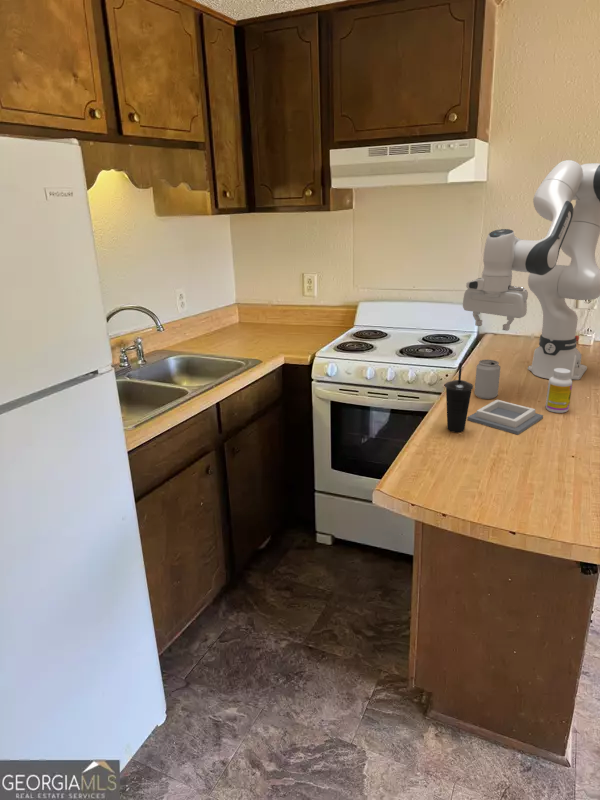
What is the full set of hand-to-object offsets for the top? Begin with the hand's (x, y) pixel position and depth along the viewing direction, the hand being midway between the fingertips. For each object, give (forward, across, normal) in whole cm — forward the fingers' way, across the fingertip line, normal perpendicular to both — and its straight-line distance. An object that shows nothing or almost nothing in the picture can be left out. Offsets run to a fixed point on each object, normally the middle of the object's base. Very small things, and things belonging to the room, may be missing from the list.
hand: (491, 327), depth 182 cm
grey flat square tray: (+23, -14, +14) cm, 31 cm away
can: (+24, 0, 0) cm, 24 cm away
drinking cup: (+24, -7, +30) cm, 39 cm away
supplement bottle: (+24, -22, -4) cm, 32 cm away
